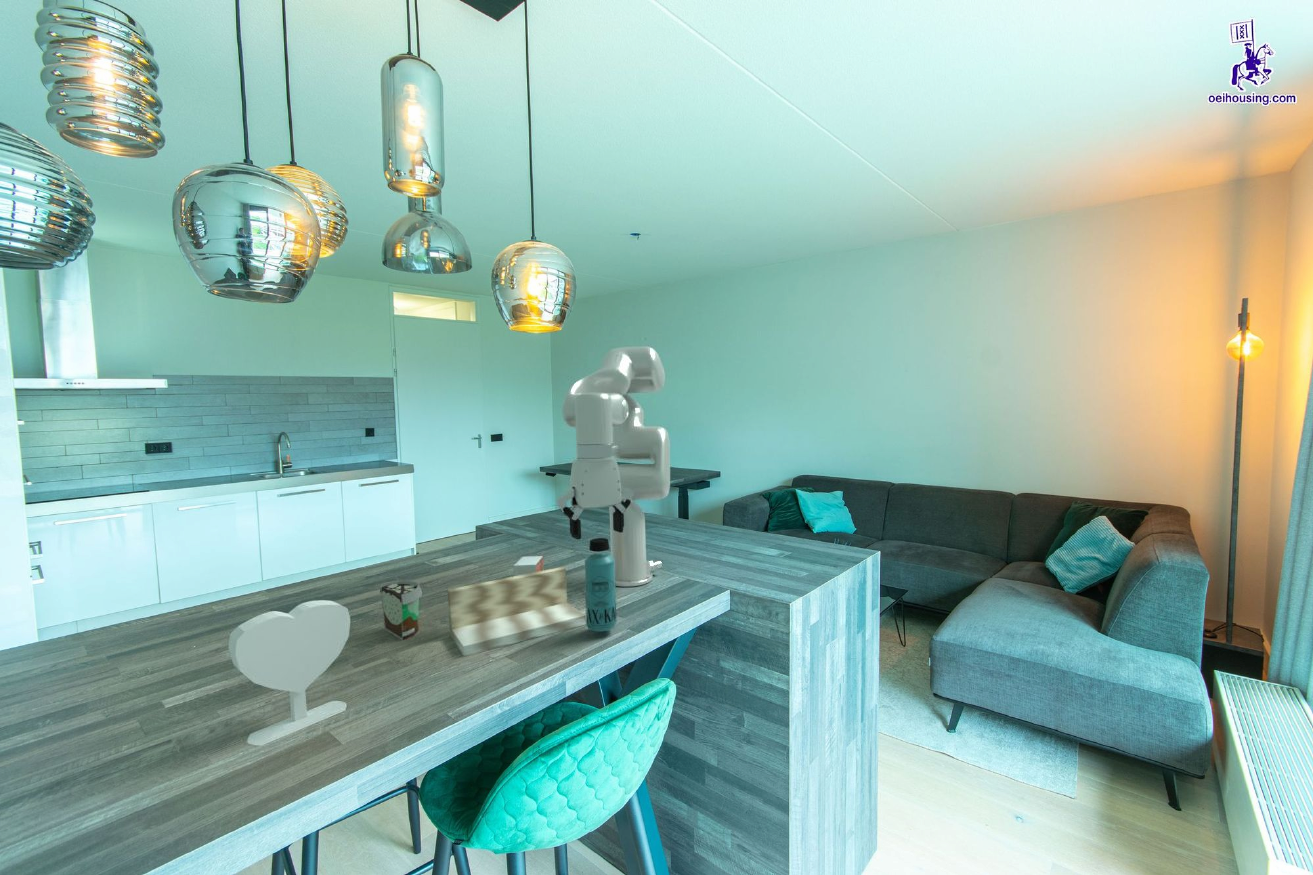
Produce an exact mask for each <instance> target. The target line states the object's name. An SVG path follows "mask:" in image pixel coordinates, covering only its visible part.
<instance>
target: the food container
mask: <svg viewBox="0 0 1313 875" xmlns="http://www.w3.org/2000/svg"><path fill="white" fill-rule="evenodd" d="M379 594H380V595H381V603H382V604H381V605H382V615H383V624H384V630H385V631H387V632H389V633H391V634H392V635H394V636H395V637H397V638H398V639H400V640H401V641H405V640H408V639H410V638H412V637H413V636H415V635H416V634H418V631H419V616H420V613H419V612H420V610H419V609H420V606H419V605H420V603H419V602H420V598H421V597H422V595H423V592H422V588H421V586H420V584H419V583H418V582H416V581H413V580H396V581H388V582H383V583H380V586H379Z"/></svg>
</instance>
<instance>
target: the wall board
mask: <svg viewBox="0 0 1313 875" xmlns="http://www.w3.org/2000/svg"><path fill="white" fill-rule="evenodd" d="M566 572H567V570H566V568H565V567H563V566H560V567H555V568H550V569H545V570H544V571H539V572H534V573H529V574H524V575H519V576H514V575H513V576H508V577H504V578H499V579H494V580H489V581H485V582H478V583H473V584H470V585H469V584H468V585H465V586H459V587H455V588H449V589H447V603H448V604H447V605H448V607H447V608H448V621H449V622H448V623H449V635H450V636H449V637H451V639H452V641H453V642H454V644H455V645H456V647H457V648H458V650H459V651H460V653H461V654H462V656H463V657H467V656H470V655H474V654H479V653H481V652H485V651H489V650H490V651H491V650H493V649H497V648H501V647H505V646H508V645H513V644H517V643H521V642H524V641H528V640H533V639H535V638H539V637H544V636H547V635H551V634H555V633H557V632H562V631H565V630H570V629H573V628H578V627H582V626H585V625H586V624H587V621H586V620H587V619H586V614H585V613H583V612H582V611H579V610H578V609H577V608H575V607H574V606H572V605H571V604H570V603H568V593H567V573H566Z"/></svg>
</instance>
